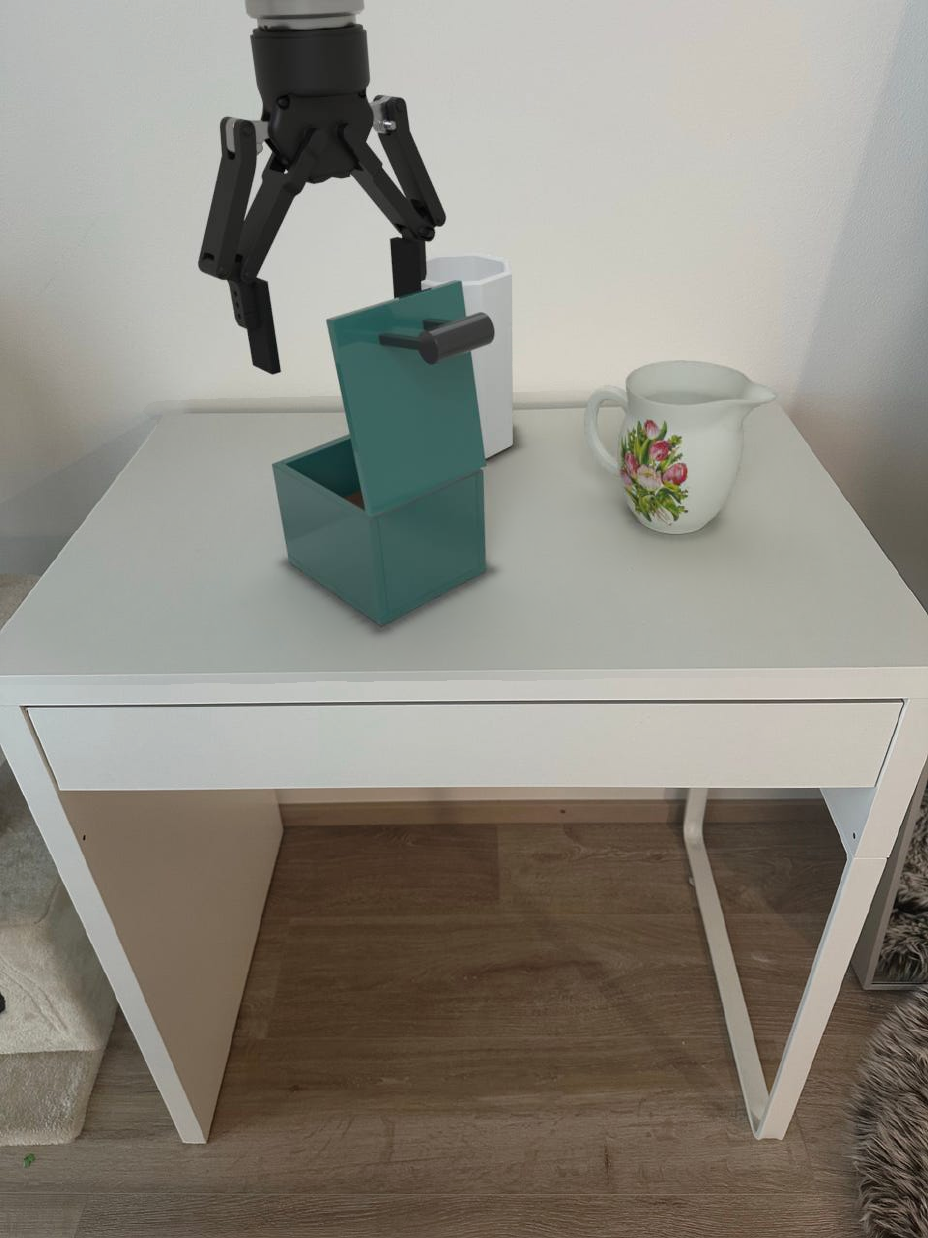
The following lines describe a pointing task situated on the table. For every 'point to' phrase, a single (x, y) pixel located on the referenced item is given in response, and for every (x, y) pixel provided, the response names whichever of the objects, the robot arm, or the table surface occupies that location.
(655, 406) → the pitcher
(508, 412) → the cup
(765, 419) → the table surface
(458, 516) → the tin
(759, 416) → the table surface
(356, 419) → the lid
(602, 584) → the table surface
